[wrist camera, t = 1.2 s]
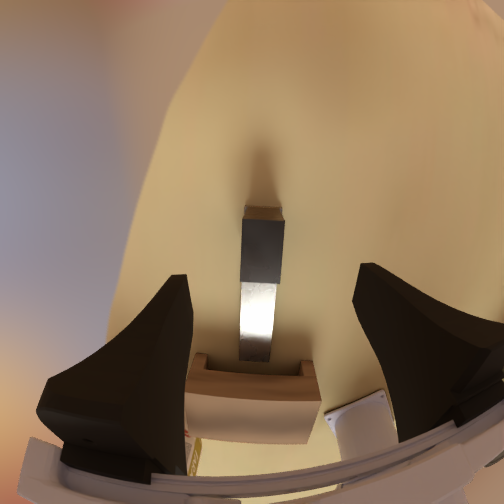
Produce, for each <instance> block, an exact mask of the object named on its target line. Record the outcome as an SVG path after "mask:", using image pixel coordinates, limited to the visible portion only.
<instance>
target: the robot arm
mask: <svg viewBox="0 0 504 504" xmlns="http://www.w3.org/2000/svg"><path fill="white" fill-rule="evenodd" d="M352 302H353V305H354V308H355V312H356V314H357V317H358V320H359V322H360V324H361V326H362V328H363V330H364V332H365V334H366V336H367V338H368V340H369V342H370V344H371V346H372V348H373V350H374V352H375V354H376V356H377V358H378V360H379V363H380V365H381V367H382V370H383V373H384V376H385V380H386V383H387V386H388V390H389V393H390V397H391V401H392V405H393V410H394V415H395V420H396V427H397V431H396V429H395V427H394V422H393V418H392V415H391V411H390V407H389V404H388V400H387V397H386V394H385V391H384V390H379V391H377V392H375V393H373V394H371V395H369V396H367V397H365V398H362V399H360V400H358V401H356V402H353V403H351V404H349V405H346V406H344V407H341V408H339V409H336V410H334V411H331V412H329V413H326V414H325V415H324V419H325V420H326V422H327V423H328V425H329V427H330V428H331V430H332V431H333V433H334V435H335V436H336V438H337V441H338V446H339V450H340V455H341V460H342V461H340V462H336V463H331V464H327V465H322V466H317V467H312V468H307V469H301V470H294V471H287V472H280V473H271V474H261V475H248V476H224V477H204V476H188V475H187V464H186V451H185V423H184V403H185V382H186V374H187V368H188V361H189V355H190V348H191V342H192V336H193V308H192V303H191V297H190V292H189V286H188V280H187V274H181V275H171V276H170V277H169V279H168V280H167V281H166V282H165V283H164V285H163V286H162V287H161V289H160V290H159V291H158V292H157V294H156V295H155V296H154V297H153V298H152V300H151V301H150V302H149V303H148V304H147V306H146V307H145V308H144V309H143V310H142V311H141V312H140V313H139V314H138V316H137V317H136V318H135V319H134V320H133V321H132V322H131V323H130V324H129V325H128V326H127V327H126V328H125V329H124V330H122V331H121V332H120V333H119V334H118V335H117V336H116V337H115V338H113V339H112V340H111V341H109V342H108V343H107V344H106V345H104V346H103V347H102V348H100V349H99V350H98V351H96V352H95V353H93V354H92V355H90V356H89V357H87V358H86V359H84V360H83V361H81V362H80V363H78V364H76V365H74V366H73V367H71V368H69V369H67V370H65V371H63V372H61V373H59V374H57V375H55V376H53V377H51V378H49V379H48V380H47V383H46V385H45V388H44V390H43V393H42V395H41V398H40V400H39V403H38V406H37V409H36V413H37V415H38V417H39V419H40V420H41V422H43V424H44V425H45V426H46V427H47V428H49V429H50V430H51V431H52V432H53V433H54V434H55V435H56V436H58V437H59V438H60V439H61V440H62V441H64V444H63V448H62V449H61V448H60V447H57V446H56V445H53V444H50V443H48V442H45V441H42V440H39V439H36V438H34V437H30V439H29V443H28V446H27V450H26V453H25V457H24V461H23V465H22V469H21V474H20V478H19V483H18V488H17V493H18V495H20V496H22V497H23V498H26V499H27V500H29V501H31V502H33V503H35V504H241V501H240V500H238V499H223V498H250V497H263V496H273V495H281V494H288V493H295V492H301V491H307V490H312V489H317V488H322V487H327V486H331V485H335V484H338V485H337V487H336V489H335V490H333V491H329V492H326V493H322V494H318V495H313V496H309V497H304V498H299V499H294V500H289V501H283V502H277V503H271V504H468V501H467V498H466V495H465V492H464V490H463V487H464V486H466V485H467V484H469V483H470V482H471V481H472V480H473V478H474V476H475V473H476V472H477V471H479V470H480V469H481V468H483V467H484V466H485V465H487V464H488V463H489V462H490V461H492V460H493V459H494V458H495V457H496V456H498V455H499V454H500V453H501V452H502V451H503V450H504V382H503V380H502V379H503V378H504V372H503V371H502V369H503V368H504V323H499V322H494V321H490V320H486V319H482V318H479V317H476V316H473V315H470V314H467V313H465V312H462V311H459V310H457V309H455V308H452V307H450V306H448V305H446V304H444V303H442V302H440V301H438V300H436V299H434V298H432V297H430V296H428V295H427V294H425V293H423V292H421V291H420V290H418V289H416V288H415V287H413V286H411V285H410V284H408V283H407V282H405V281H403V280H402V279H400V278H399V277H397V276H395V275H394V274H392V273H391V272H389V271H387V270H386V269H384V268H382V267H381V266H379V265H377V264H375V263H361V264H360V269H359V273H358V278H357V282H356V287H355V291H354V295H353V299H352ZM339 483H341V484H339Z"/></svg>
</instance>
